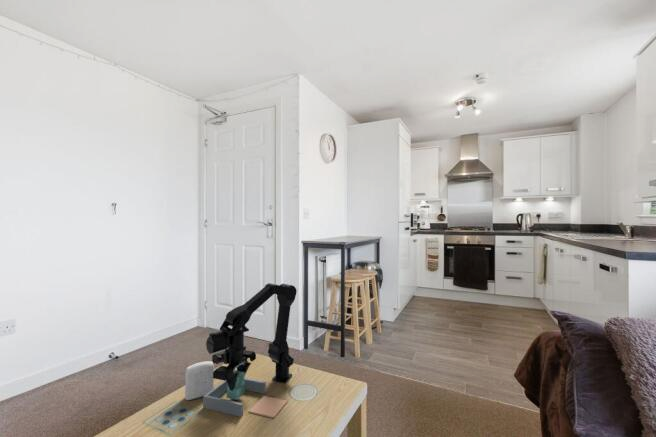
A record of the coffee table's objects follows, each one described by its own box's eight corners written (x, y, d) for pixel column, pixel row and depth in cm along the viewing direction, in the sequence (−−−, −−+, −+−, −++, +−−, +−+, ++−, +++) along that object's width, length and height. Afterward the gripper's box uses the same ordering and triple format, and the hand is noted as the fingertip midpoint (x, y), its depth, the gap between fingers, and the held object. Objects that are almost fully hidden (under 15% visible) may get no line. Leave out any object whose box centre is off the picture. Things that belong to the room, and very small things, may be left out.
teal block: (234, 391, 115) (234, 370, 116) (244, 393, 114) (244, 372, 114) (226, 397, 111) (226, 375, 111) (237, 399, 110) (237, 377, 110)
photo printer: (212, 388, 120) (212, 357, 120) (214, 393, 117) (215, 361, 117) (184, 396, 114) (184, 364, 115) (185, 402, 111) (186, 368, 111)
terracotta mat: (263, 396, 114) (263, 395, 114) (287, 401, 111) (287, 400, 111) (248, 412, 105) (248, 411, 105) (274, 418, 101) (274, 417, 101)
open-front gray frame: (231, 385, 123) (231, 375, 123) (265, 392, 117) (265, 381, 117) (203, 407, 108) (203, 396, 108) (241, 416, 102) (241, 405, 102)
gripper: (233, 334, 124) (233, 372, 124) (200, 352, 107) (200, 396, 106) (256, 337, 121) (256, 376, 120) (226, 356, 103) (226, 402, 103)
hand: (235, 387), depth 113 cm, fingers closed on teal block, 4 cm apart
